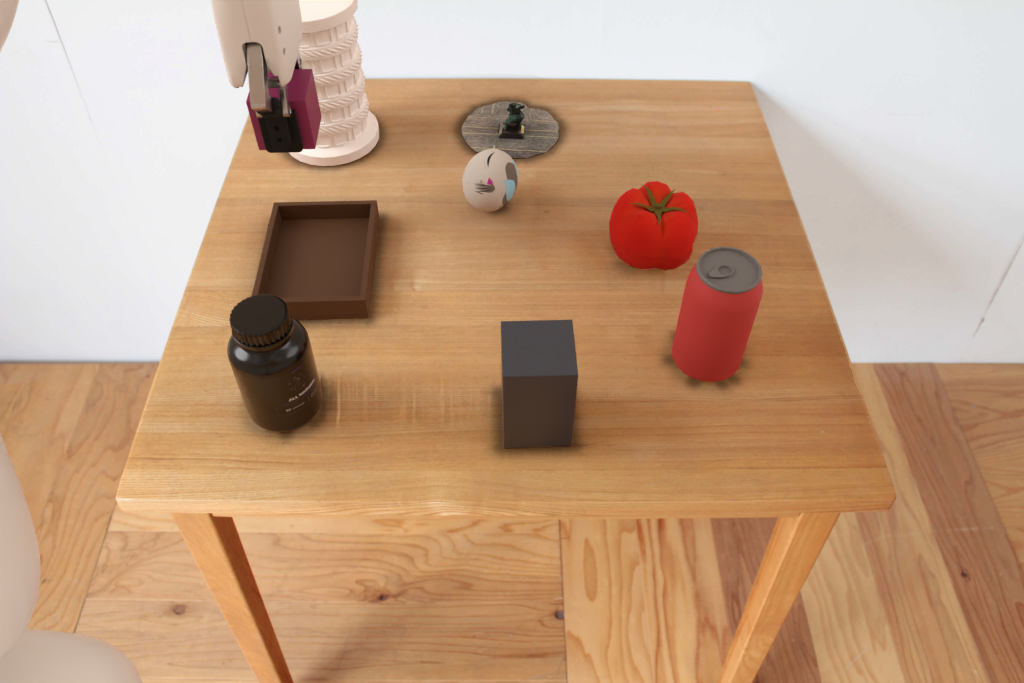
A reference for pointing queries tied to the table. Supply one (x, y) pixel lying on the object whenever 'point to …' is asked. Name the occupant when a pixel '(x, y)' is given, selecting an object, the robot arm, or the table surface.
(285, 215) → the tray
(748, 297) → the beer can
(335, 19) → the white tower model
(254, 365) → the supplement bottle
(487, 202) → the figurine
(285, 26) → the robot arm
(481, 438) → the table surface
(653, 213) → the tomato
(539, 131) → the sculpture
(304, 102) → the top block
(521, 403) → the bottom block
